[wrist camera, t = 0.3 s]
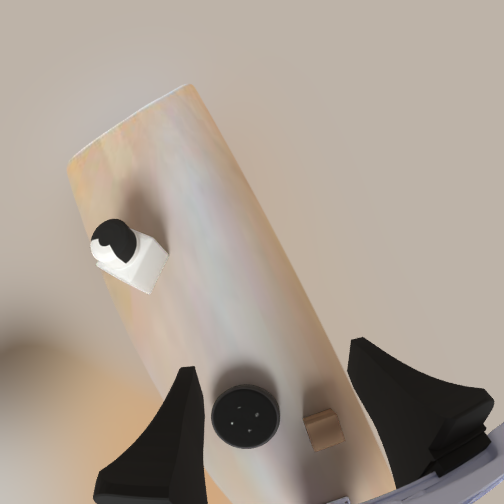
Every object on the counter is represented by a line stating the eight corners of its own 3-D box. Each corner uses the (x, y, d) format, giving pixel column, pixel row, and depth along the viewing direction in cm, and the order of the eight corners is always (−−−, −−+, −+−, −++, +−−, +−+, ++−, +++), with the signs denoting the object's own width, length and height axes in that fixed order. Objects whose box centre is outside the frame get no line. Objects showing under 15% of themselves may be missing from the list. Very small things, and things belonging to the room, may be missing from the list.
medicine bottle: (136, 240, 49) (101, 206, 37) (170, 255, 47) (139, 221, 36) (116, 278, 46) (76, 252, 35) (150, 295, 45) (113, 272, 34)
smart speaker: (206, 396, 39) (199, 399, 35) (265, 374, 40) (264, 376, 36) (230, 450, 36) (225, 458, 32) (289, 430, 36) (290, 436, 33)
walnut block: (338, 432, 35) (345, 440, 31) (310, 442, 35) (314, 452, 31) (329, 408, 37) (336, 414, 32) (302, 418, 37) (305, 425, 32)
